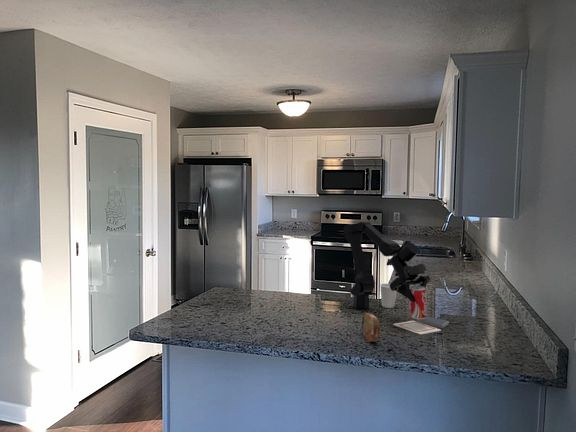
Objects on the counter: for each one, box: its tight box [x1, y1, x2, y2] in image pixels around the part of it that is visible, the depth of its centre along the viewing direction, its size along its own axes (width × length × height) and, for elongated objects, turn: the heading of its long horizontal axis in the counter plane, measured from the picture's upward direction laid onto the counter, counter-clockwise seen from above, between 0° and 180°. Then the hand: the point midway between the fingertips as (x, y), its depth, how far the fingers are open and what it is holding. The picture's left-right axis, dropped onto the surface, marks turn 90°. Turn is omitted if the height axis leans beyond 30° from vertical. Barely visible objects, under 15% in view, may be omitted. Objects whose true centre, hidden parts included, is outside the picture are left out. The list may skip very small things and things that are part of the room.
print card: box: [392, 320, 442, 335], centre depth 180 cm, size 14×12×1 cm
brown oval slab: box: [361, 312, 381, 343], centre depth 163 cm, size 15×3×8 cm, turn 5°
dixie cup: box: [379, 283, 398, 309], centre depth 212 cm, size 8×8×10 cm
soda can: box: [408, 285, 428, 320], centre depth 180 cm, size 7×7×12 cm
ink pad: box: [415, 316, 450, 329], centre depth 187 cm, size 11×8×1 cm
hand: (420, 301), depth 178 cm, fingers closed on soda can, 7 cm apart
